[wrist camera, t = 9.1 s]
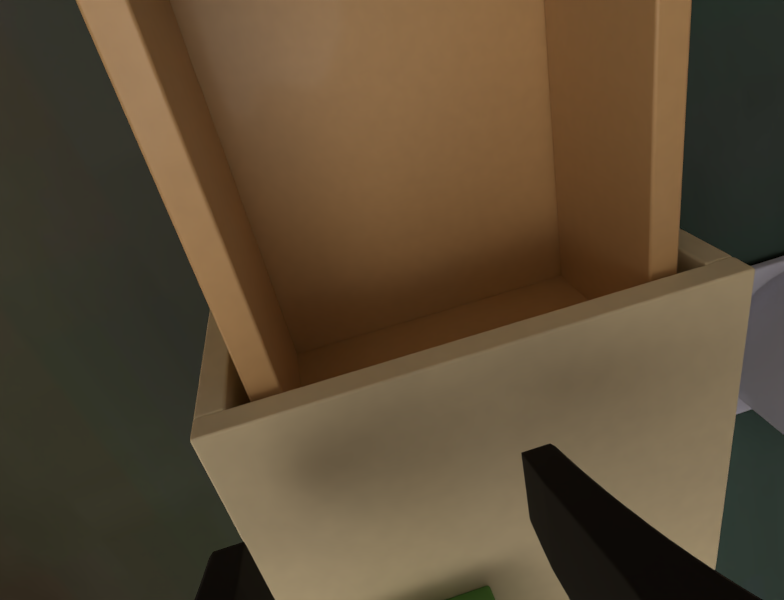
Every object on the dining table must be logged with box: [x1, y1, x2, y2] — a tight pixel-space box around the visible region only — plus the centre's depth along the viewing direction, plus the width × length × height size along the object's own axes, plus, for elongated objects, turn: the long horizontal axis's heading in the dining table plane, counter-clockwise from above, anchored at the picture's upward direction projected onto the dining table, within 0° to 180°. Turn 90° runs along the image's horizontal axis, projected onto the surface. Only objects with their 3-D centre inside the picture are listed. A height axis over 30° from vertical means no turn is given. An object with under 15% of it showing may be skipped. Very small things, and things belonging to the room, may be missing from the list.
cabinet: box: [190, 228, 755, 600], centre depth 20 cm, size 16×14×8 cm
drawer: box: [76, 0, 692, 402], centre depth 13 cm, size 18×12×6 cm, turn 12°
